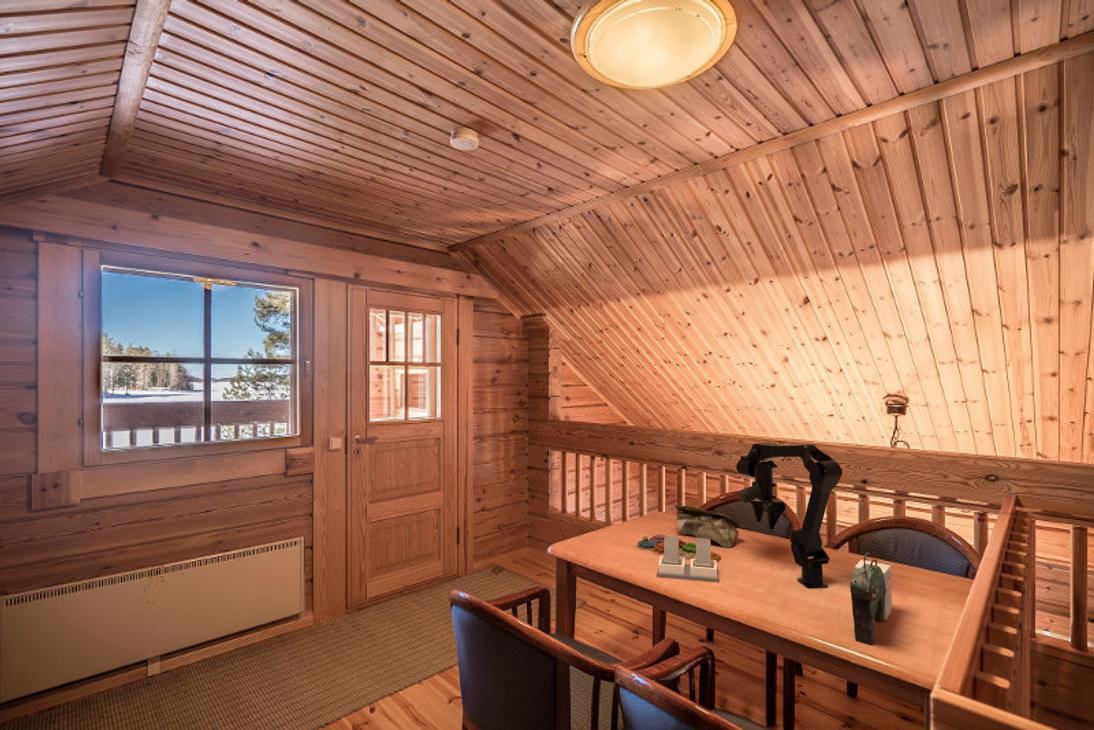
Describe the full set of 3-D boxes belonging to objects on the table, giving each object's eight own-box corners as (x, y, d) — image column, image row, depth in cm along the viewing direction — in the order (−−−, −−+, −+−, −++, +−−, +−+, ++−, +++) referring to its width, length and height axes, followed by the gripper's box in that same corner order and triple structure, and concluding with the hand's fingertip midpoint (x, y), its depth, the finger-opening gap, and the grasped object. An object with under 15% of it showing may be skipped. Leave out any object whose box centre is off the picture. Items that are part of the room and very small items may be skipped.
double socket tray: (718, 569, 178) (717, 559, 178) (718, 582, 167) (718, 571, 167) (659, 564, 183) (659, 554, 183) (656, 576, 173) (656, 565, 173)
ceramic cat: (874, 649, 126) (872, 564, 126) (844, 640, 130) (841, 558, 130) (891, 618, 140) (889, 542, 140) (863, 611, 145) (861, 537, 145)
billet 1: (679, 567, 178) (678, 536, 178) (678, 571, 174) (678, 541, 174) (665, 565, 179) (665, 535, 179) (664, 570, 175) (664, 540, 175)
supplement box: (854, 612, 145) (853, 565, 145) (862, 603, 150) (860, 558, 150) (886, 621, 140) (885, 572, 140) (893, 611, 145) (891, 564, 145)
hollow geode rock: (676, 543, 220) (658, 521, 215) (689, 517, 226) (672, 495, 220) (736, 559, 198) (717, 535, 192) (749, 530, 204) (731, 506, 198)
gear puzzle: (729, 558, 190) (729, 546, 190) (705, 570, 179) (704, 558, 179) (657, 539, 213) (657, 528, 213) (632, 548, 202) (631, 537, 202)
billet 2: (710, 569, 175) (710, 538, 175) (711, 574, 171) (710, 543, 171) (696, 568, 176) (695, 538, 177) (696, 573, 172) (695, 542, 172)
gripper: (729, 475, 191) (730, 518, 191) (752, 486, 173) (753, 534, 173) (760, 474, 192) (761, 517, 192) (786, 485, 173) (787, 533, 173)
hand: (764, 525), depth 182 cm, fingers open, 9 cm apart
